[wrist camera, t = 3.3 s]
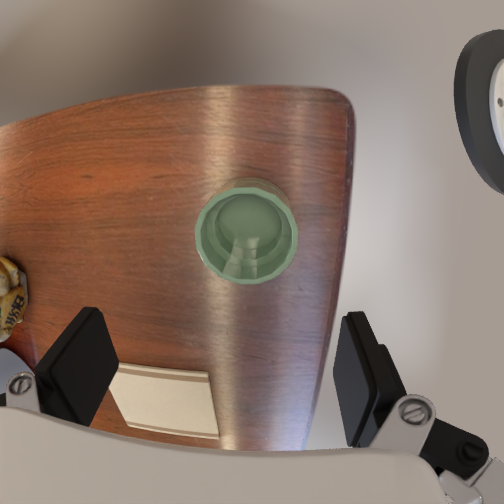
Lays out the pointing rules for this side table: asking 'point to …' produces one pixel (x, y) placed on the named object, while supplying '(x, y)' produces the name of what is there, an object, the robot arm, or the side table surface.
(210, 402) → the cloth
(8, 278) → the decorative figurine
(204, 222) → the bowl
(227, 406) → the side table surface
